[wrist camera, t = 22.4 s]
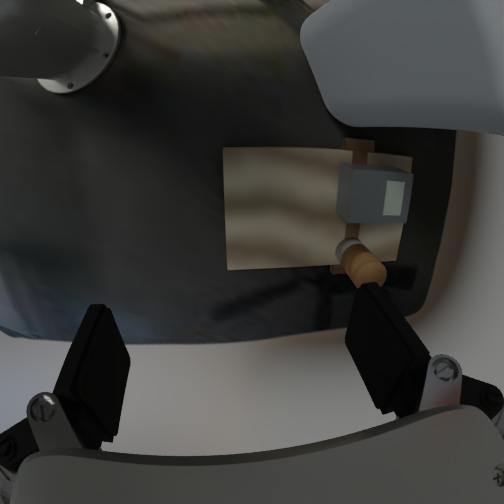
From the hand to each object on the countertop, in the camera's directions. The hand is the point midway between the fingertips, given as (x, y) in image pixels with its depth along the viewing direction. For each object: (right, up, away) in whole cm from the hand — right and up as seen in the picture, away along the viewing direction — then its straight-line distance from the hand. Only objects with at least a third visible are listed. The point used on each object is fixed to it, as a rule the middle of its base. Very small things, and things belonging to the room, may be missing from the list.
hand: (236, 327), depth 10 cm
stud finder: (+15, +11, +22) cm, 29 cm away
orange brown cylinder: (+13, +3, +26) cm, 30 cm away
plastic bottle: (+14, +26, +17) cm, 34 cm away
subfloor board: (+9, +8, +25) cm, 28 cm away
